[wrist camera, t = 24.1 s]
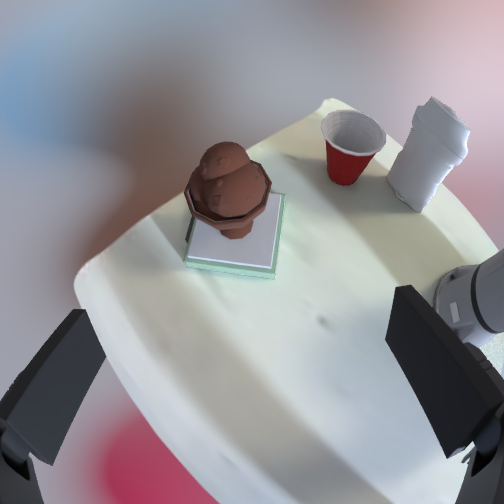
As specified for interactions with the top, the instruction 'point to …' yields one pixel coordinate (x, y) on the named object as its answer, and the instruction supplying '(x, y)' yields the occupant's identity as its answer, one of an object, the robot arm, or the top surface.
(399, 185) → the tall pale column
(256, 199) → the ice cream bowl
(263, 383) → the top surface
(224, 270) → the scale
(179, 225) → the top surface
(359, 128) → the plastic cup
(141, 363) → the top surface
